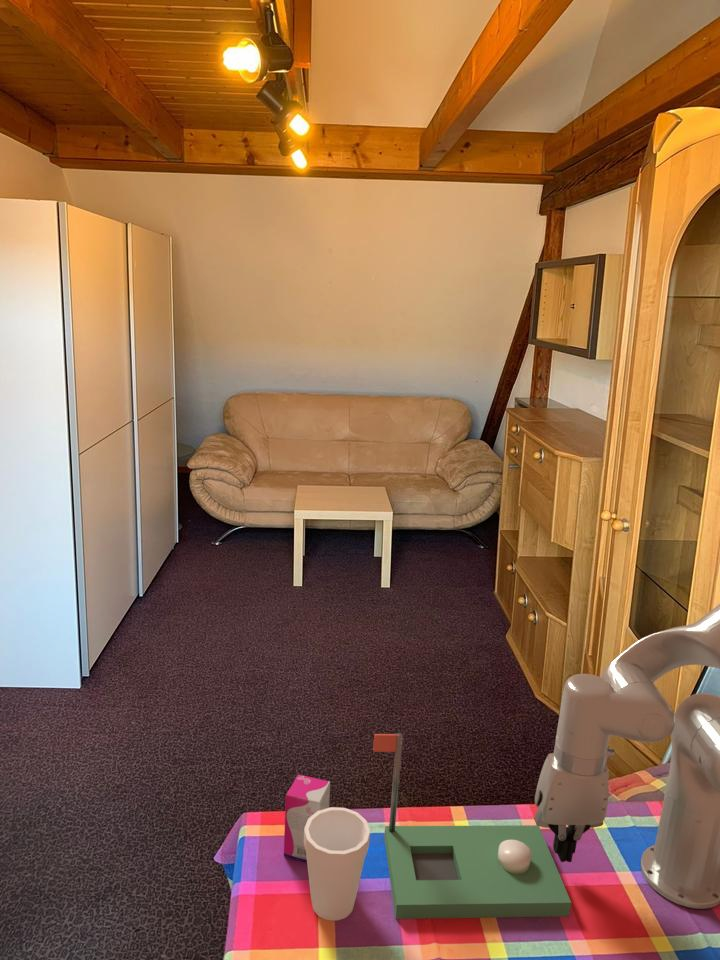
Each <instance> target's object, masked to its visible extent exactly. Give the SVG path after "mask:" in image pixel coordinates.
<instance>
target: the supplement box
mask: <svg viewBox="0 0 720 960" xmlns="http://www.w3.org/2000/svg"><path fill="white" fill-rule="evenodd" d="M330 791H331V781H330V780H325V779H320V778H315V777H311V776H307V775H302V774H297V776H296V778H295V779H294V781H293V782H292V784H291V786H290V787H289V789H288V791H287V793H286V794H285V803H284V804H285V805H284V806H285V808H284V809H285V810H284V835H283V836H284V838H283V841H284V842H283V856H284V857H285V858H289V859H293V860H297V861H300V862H305V863H307V856H306V850H305V846H304V828H305V826H306V823H307V820H308V818H310V817H311V816H312V815H313V814H315V813H316V812H317V811H320V810H323V809H326V808H330V796H331V795H330Z"/></svg>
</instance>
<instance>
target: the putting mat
mask: <svg viewBox="0 0 720 960" xmlns="http://www.w3.org/2000/svg"><path fill="white" fill-rule="evenodd" d="M373 735H374V736H373V738H374V739H373V745H372V746H373V748H372V749H373V752H375V753H376V752H378V753H379V752H380V753H381V752H382V753H392V752H393V753H394V763H393V774H392V787H391V800H390V812H389V825H385V826H384V837H383V839H384V840H383V842H384V846H385V847H384V848H385V854H386V859H387V860H386V862H387V867H388V874H389V876H388V877H389V882H390V887H391V888H390V889H391V895H392V897H391V898H392V904H393V911H394V918H395V920H403V919H404V920H405V919H406V920H407V919H409V920H410V919H467V918H471V919H472V918H473V919H475V918H481V919H482V918H483V919H484V918H537V917H538V918H541V917H543V918H545V917H550V918H551V916H552V917H570V912H571V907H572V900H571V899H570V896H569V894H568V892H567V891H568V890H567V889H566V887H565V884H564V882H563V879H562V877H561V875H560V872H559V870H558V868H557V866H556V863H555V860H554V858H553V856H552V854H551V851H550V849H549V847H548V844H547V842H546V839H545V837H544V835H543V832H542V830H541V827H540V826H537V825H532V824H531V825H529V824H526V825H525V824H524V825H523V824H522V825H396V821H397V809H398V797H399V787H400V774H401V773H400V772H401V764H402V763H401V761H402V750H403V740H404V739H403V736H404V735H403V733H402V732H397V733H380V734H379V733H374V734H373ZM505 840H517V841H520V842H522V843H524V844H525V845H527V846H528V847H529V849H530V851H531V861H530V867H529V869H528V871H526V872H525V873H522V874H513V873H510V872H507V871H506V870H504V869H503V868H502V867H501V866H500V865H499V863H498V851H499V845H500V844H501V843H502V842H503V841H505Z"/></svg>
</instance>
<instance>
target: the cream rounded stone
mask: <svg viewBox="0 0 720 960" xmlns="http://www.w3.org/2000/svg"><path fill="white" fill-rule="evenodd" d="M530 861H531V851H530V849H529V847H528V846H527V845H525V844H524V843H522V842H520V841H517V840H505V841H503V842H502V843H501V844H500V845H499V851H498V863H499V865H500V866H501V867H502V868H503V869H504V870H506V871H507V872H510V873H513V874H522V873H525V872H526V871H528V869H529V867H530Z"/></svg>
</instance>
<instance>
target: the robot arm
mask: <svg viewBox="0 0 720 960" xmlns="http://www.w3.org/2000/svg"><path fill="white" fill-rule="evenodd" d="M693 665H695V666H697V665H698V666H705V667H711V668H715V669H720V603H719V604H718V605H716V606H715V607H714V608H712V609H711V610H710V611H709V612H707V613H706V614H705V615H704V616H702V617H701V618H700V619H697V620H696V621H695V622H693V623H691V624H690V623H689V624H686V625H679V626H676V627H671V628H668V629H665V630H661V631H657V632H654V633H651V634H648V635H646V636H644V637H642V638H640V639H639V640H637V641H635V642H634V643H633V644H631V645H630V646H629V647H627V648H626V649H625V650H624V651H622V652H621V653H619V654H618V655H617V656H615V658H614V659H613V660H611V661H610V662H609V663H608V665H607V666H606V667H605V669H604V670H603V672H602V673H601V676H598V675H594V674H590V673H578V674H574V675H571V676H570V677H568V679H566V681H565V683H564V685H563V691H562V697H561V703H560V709H559V716H558V723H557V729H556V734H555V741H554V747H553V748H554V749H553V752H552V753H551V752H550V753H548V755H547V756H546V757H545V758H546V759H545V760H544V763H543V766H542V767H541V771H540V774H539V778H538V782H537V785H536V790H535V795H534V804H535V807H538V808H537V810H536V812H535V815H534V817H533V820H534V823H535V824H536V825H537V826H539V827H540V828H546V829H548V828H549V830H550V831H552V832H553V834H554V838H553V844H552V847H553V851H554V853H555V854H557V857H558V859H559V861H560V863H565V862H567V863H572V861H573V854H575V853H576V850H577V849H576V848H577V842H578V841H580V840H581V838H582V836H583V834H585V833H586V832H587V831H589V830H590V829H593V828H597V827H602V826H603V825H604V821H605V819H606V817H607V816H606V815H607V811H608V805H609V793H610V792H609V790H610V787H609V785H610V784H609V782H610V781H609V780H610V779H609V777H610V776H609V767H608V765H607V761H608V759H610V758H614V757H615V756H616V755H615V754H616V751H615V749H614V747H609V743H610V737H611V736H614V737H617V738H618V737H619V738H623V739H626V740H629V741H634V742H638V743H645V744H646V743H647V744H652V743H659V742H662V741H664V740H666V739H667V738H668V737H670V736H671V749H670V750H671V753H670V762H669V763H670V764H669V770H668V776H667V781H666V787H665V792H664V797H663V802H662V806H661V812H660V817H659V821H658V828H657V832H656V837H655V842H654V843H655V844H652V845H651V846H649V847H646V849H645V850H644V851H643V853H642V855H641V859H640V869H641V874H642V875H643V877H644V879H645V880H646V882H647V883H648V885H650V887H651V888H653V890H655V892H657V893H658V894H659V895H661V896H662V897H664V898H666V899H667V900H669V901H671V902H673V903H675V904H677V905H678V906H679V905H680V906H682V907H686V908H690V909H699V910H700V909H701V910H704V909H705V910H706V909H712V908H715V907H717V906H718V905H720V696H718V695H717V694H712V693H711V692H710V693H709V692H708V693H707V692H701V693H695V694H692V695H690V696H687V697H686V698H685V699H684V700H682V701H681V702H680V703H679V705H678V706H677V708H676V709H675V713H674V711H673V709H672V706H671V705H670V703H669V702H668V701H667V699H666V698H665V696H664V695H663V694H662V693H661V691H660V690H659V688H658V687H657V686H656V684H655V682H656V681H658V680H659V679H660V678H662V677H663V676H664V675H666V674H667V673H669V672H671V671H673V670H676V669H678V668H681V667H686V666H693Z"/></svg>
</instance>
